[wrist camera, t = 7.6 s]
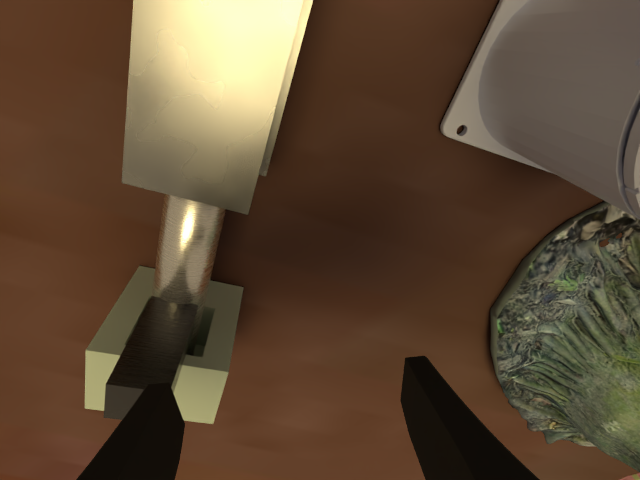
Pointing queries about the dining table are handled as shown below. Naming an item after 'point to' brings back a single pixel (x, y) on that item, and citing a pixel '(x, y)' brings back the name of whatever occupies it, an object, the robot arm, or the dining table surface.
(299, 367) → the dining table surface
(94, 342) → the socket block
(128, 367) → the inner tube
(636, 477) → the toy food platter
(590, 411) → the tree stump
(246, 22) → the grey boxy piece
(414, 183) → the dining table surface
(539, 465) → the dining table surface
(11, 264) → the dining table surface
